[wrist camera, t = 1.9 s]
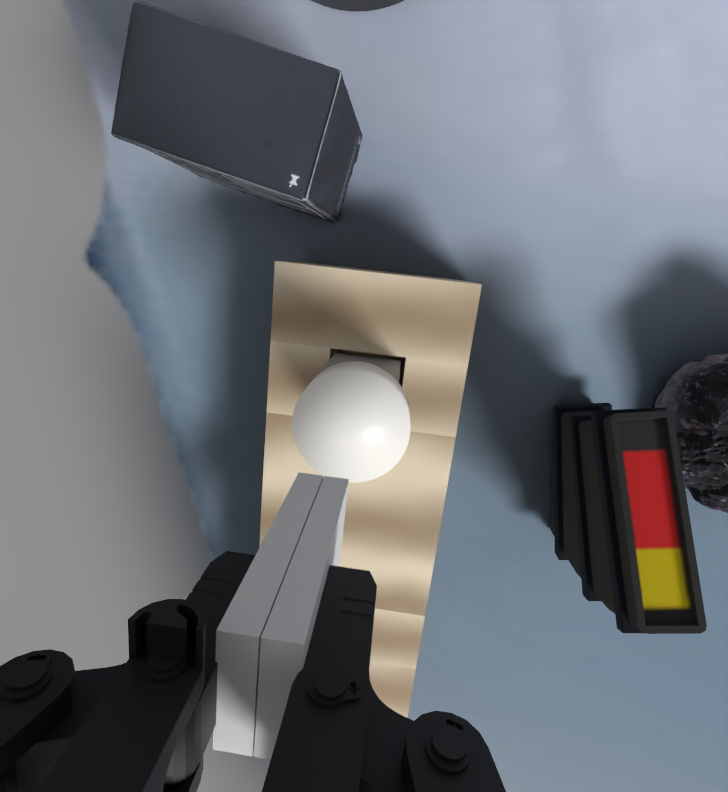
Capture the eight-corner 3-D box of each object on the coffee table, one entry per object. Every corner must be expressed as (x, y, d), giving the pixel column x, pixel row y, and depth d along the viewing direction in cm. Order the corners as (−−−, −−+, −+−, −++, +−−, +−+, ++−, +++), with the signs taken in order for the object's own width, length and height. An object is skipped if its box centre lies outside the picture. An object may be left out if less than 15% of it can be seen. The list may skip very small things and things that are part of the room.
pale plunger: (323, 338, 29) (296, 362, 22) (415, 349, 29) (418, 378, 21) (316, 424, 31) (288, 474, 23) (403, 436, 30) (402, 490, 23)
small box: (367, 127, 32) (348, 64, 22) (338, 225, 34) (308, 209, 24) (217, 75, 32) (128, -12, 22) (196, 177, 34) (106, 139, 24)
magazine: (550, 579, 38) (633, 641, 23) (533, 413, 40) (598, 374, 25) (600, 578, 37) (716, 640, 23) (580, 411, 40) (673, 370, 25)
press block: (300, 261, 34) (274, 261, 28) (466, 280, 34) (481, 284, 27) (275, 626, 43) (251, 692, 36) (407, 646, 43) (407, 718, 36)
